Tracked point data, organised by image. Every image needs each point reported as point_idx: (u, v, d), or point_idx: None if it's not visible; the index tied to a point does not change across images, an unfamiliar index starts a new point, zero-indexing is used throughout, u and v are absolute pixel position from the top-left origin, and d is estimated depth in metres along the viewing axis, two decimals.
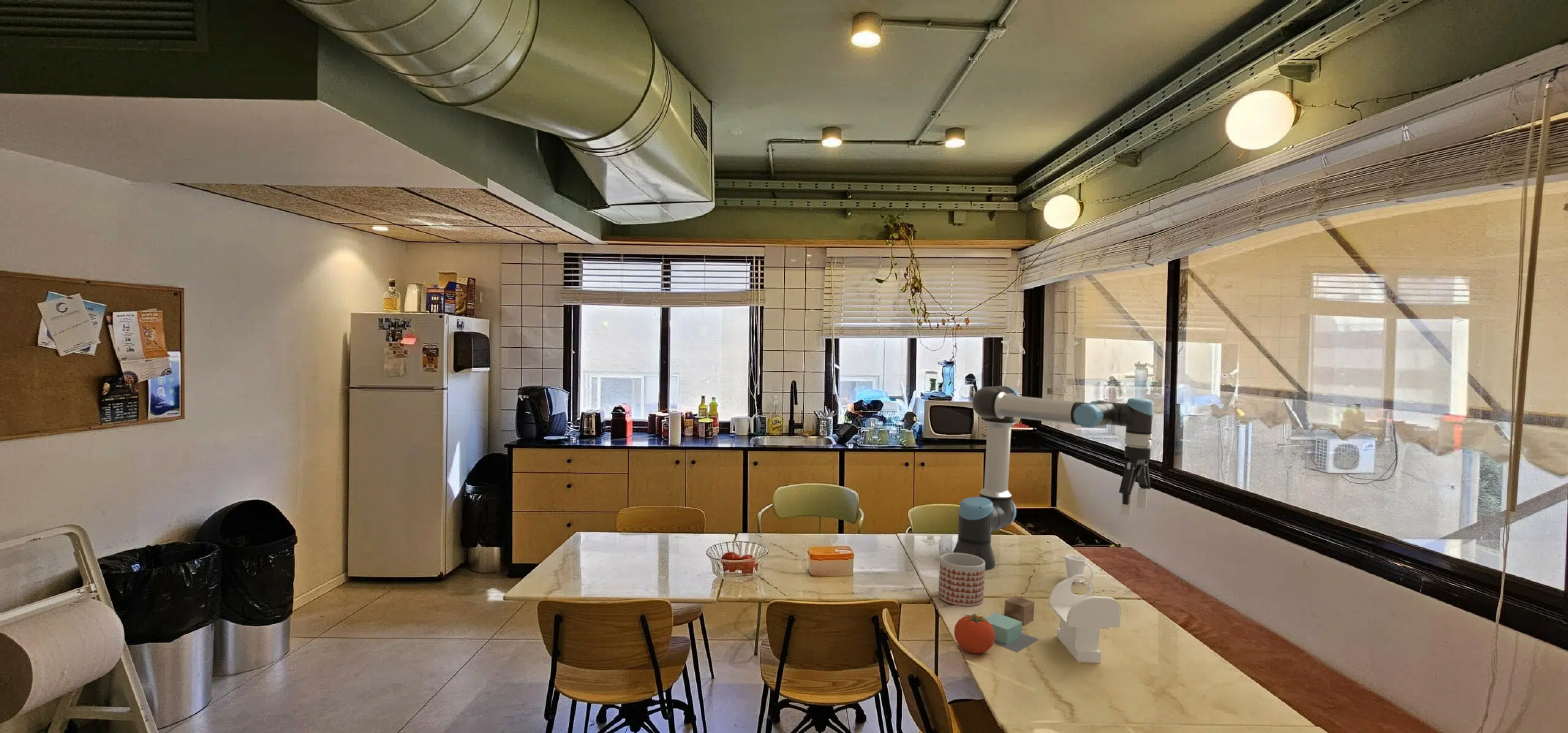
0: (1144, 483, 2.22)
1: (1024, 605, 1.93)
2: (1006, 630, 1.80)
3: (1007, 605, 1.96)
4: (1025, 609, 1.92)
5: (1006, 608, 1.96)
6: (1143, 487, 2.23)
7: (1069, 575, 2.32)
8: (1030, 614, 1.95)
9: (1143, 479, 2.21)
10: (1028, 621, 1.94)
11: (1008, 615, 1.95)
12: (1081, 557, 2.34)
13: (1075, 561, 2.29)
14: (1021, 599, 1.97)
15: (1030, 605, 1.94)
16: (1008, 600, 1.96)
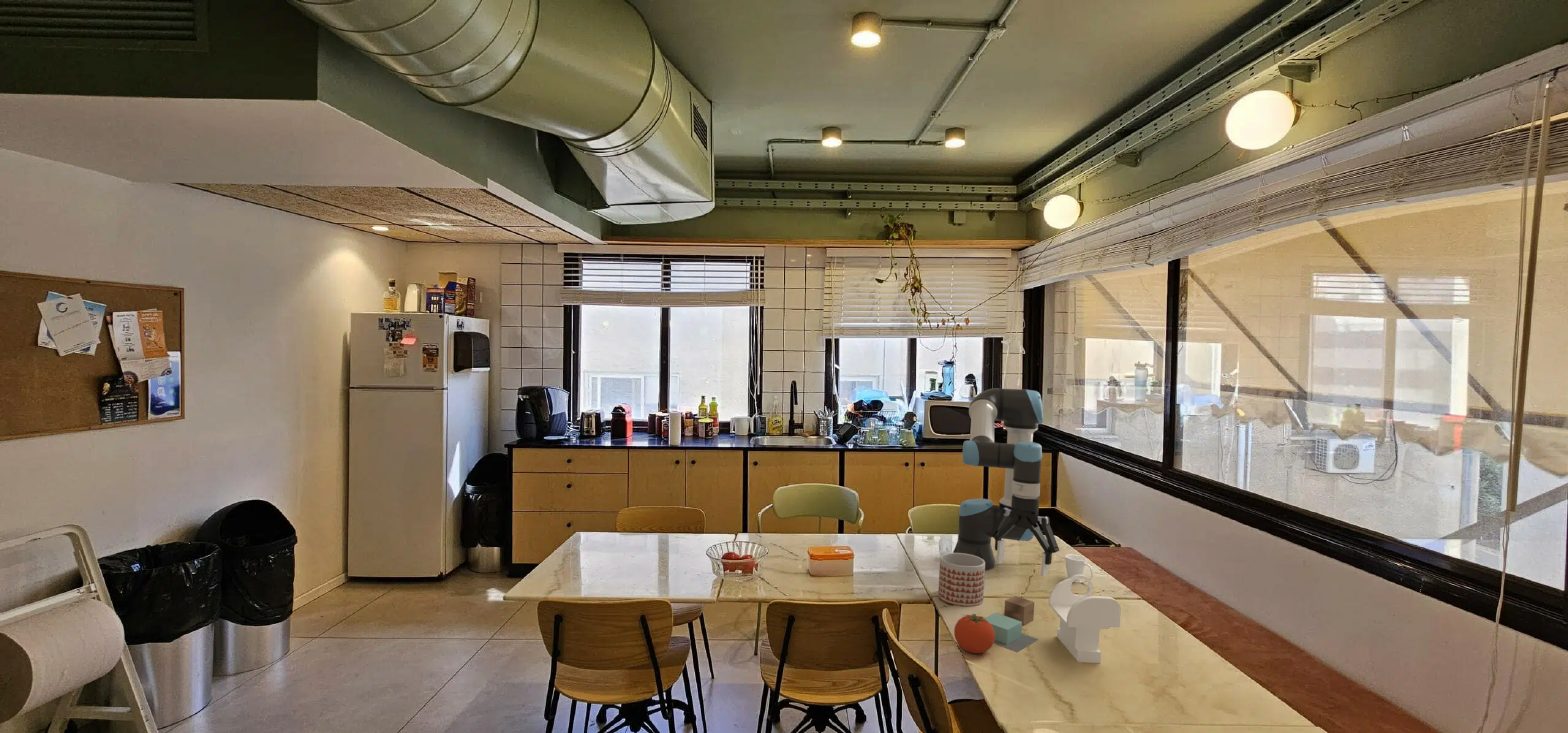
0: None
1: (1024, 605, 1.93)
2: (1006, 630, 1.80)
3: (1007, 605, 1.96)
4: (1025, 609, 1.92)
5: (1006, 608, 1.96)
6: None
7: (1069, 575, 2.32)
8: (1030, 614, 1.95)
9: None
10: (1028, 621, 1.94)
11: (1008, 615, 1.95)
12: (1081, 557, 2.34)
13: (1075, 561, 2.29)
14: (1021, 599, 1.97)
15: (1030, 605, 1.94)
16: (1008, 600, 1.96)
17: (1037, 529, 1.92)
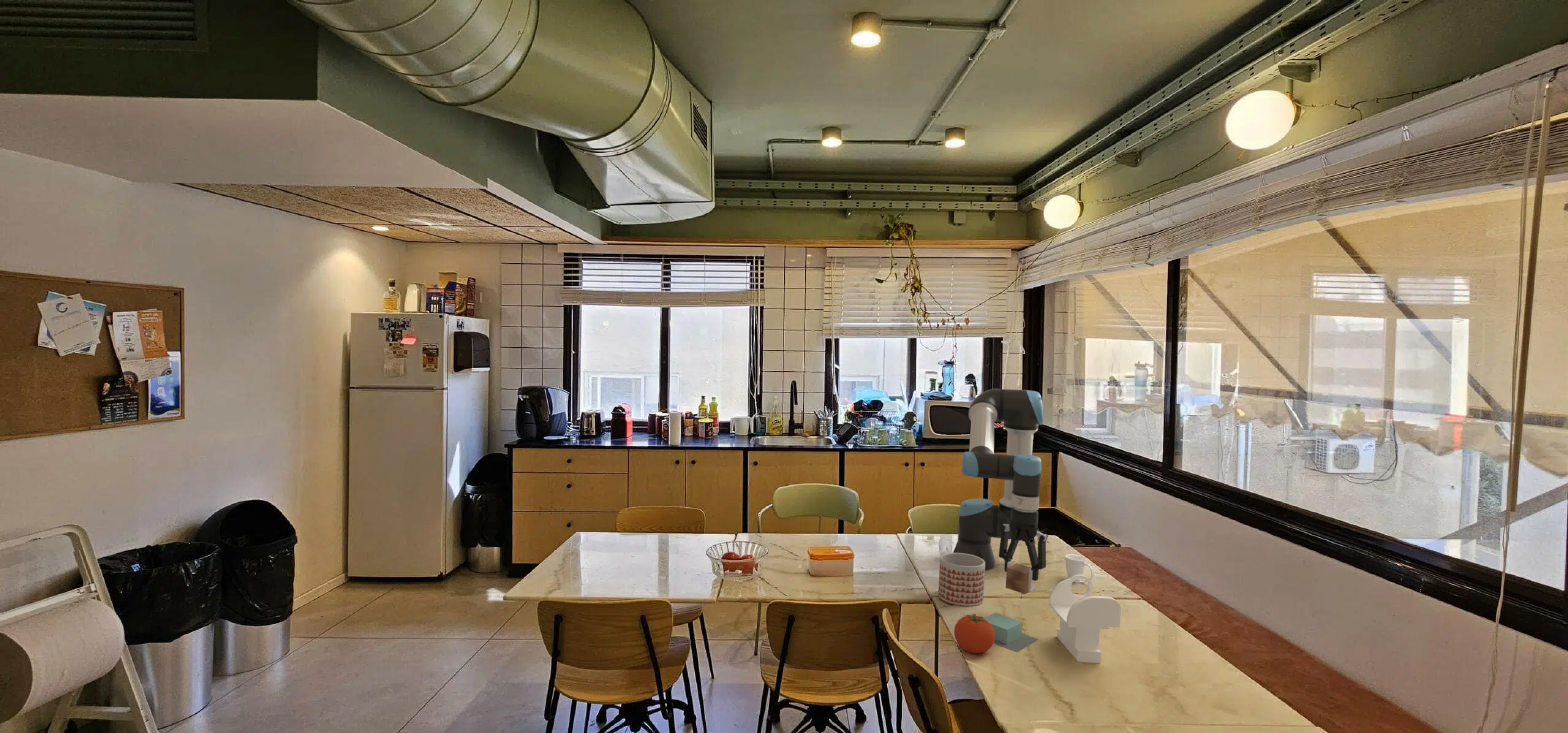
0: None
1: (1026, 572, 1.93)
2: (1006, 630, 1.80)
3: (1008, 572, 1.96)
4: (1027, 576, 1.92)
5: (1008, 575, 1.96)
6: None
7: (1069, 575, 2.32)
8: None
9: None
10: None
11: (1010, 582, 1.95)
12: (1081, 557, 2.34)
13: (1075, 561, 2.29)
14: (1023, 566, 1.97)
15: None
16: (1010, 567, 1.96)
17: (1032, 544, 1.93)
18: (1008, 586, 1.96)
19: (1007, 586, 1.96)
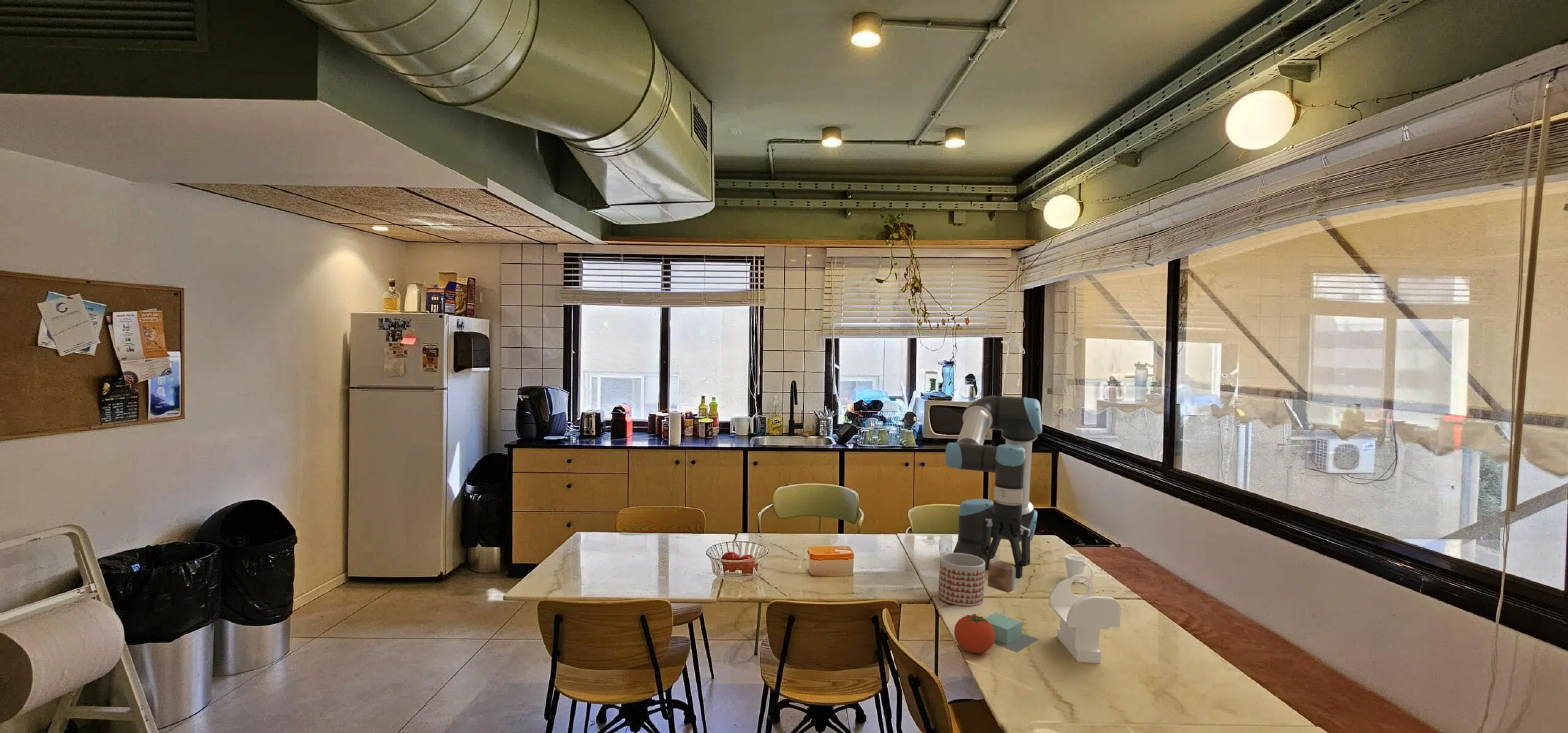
0: None
1: (1009, 569, 1.81)
2: (1006, 630, 1.80)
3: (991, 569, 1.84)
4: (1010, 573, 1.81)
5: (990, 573, 1.84)
6: None
7: (1069, 575, 2.32)
8: None
9: None
10: None
11: (992, 580, 1.84)
12: (1081, 557, 2.34)
13: (1075, 561, 2.29)
14: (1006, 563, 1.86)
15: None
16: (992, 564, 1.85)
17: (1015, 539, 1.82)
18: (990, 584, 1.84)
19: (989, 584, 1.84)
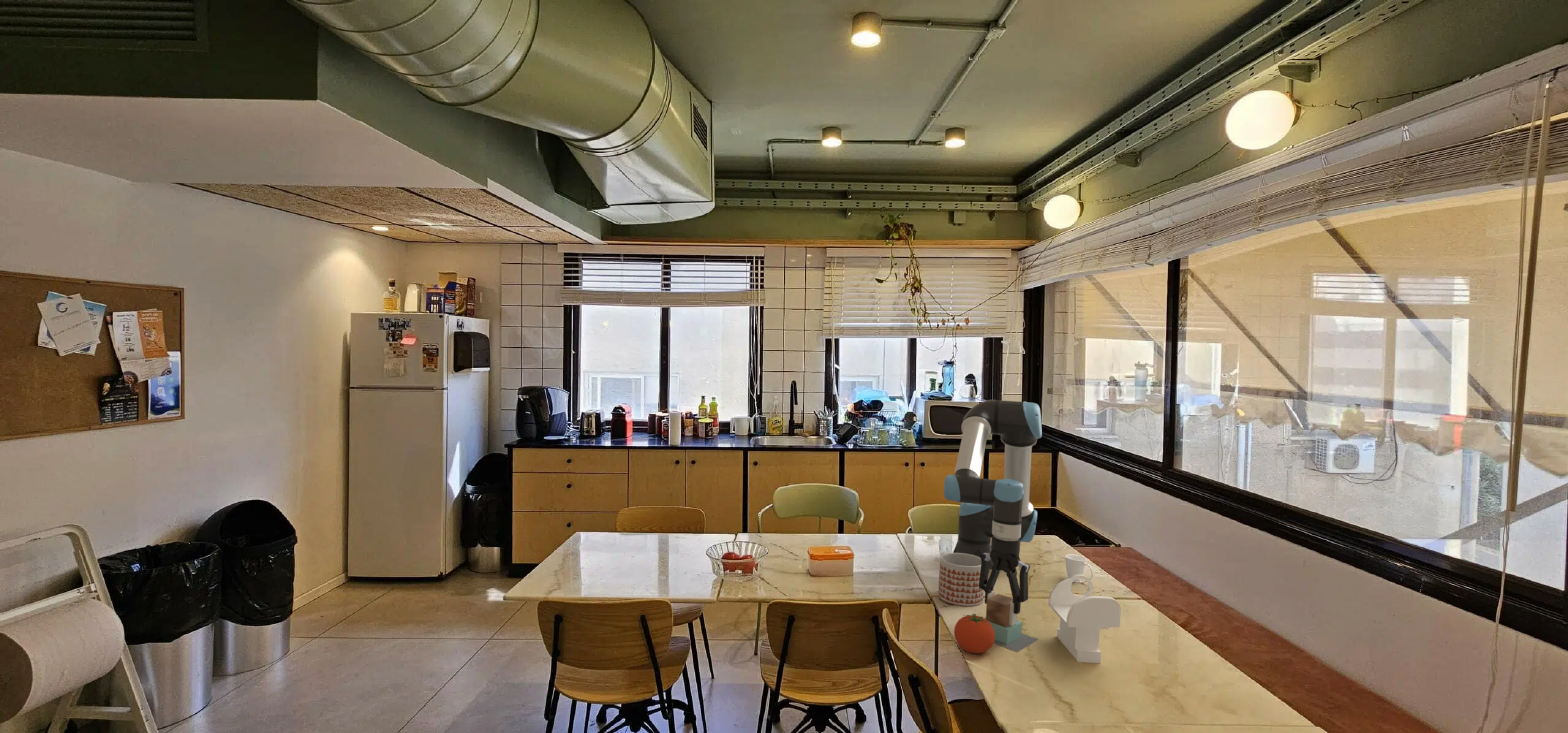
0: None
1: (1007, 604, 1.82)
2: (1006, 630, 1.80)
3: (989, 604, 1.84)
4: (1008, 608, 1.81)
5: (988, 607, 1.85)
6: None
7: (1069, 575, 2.32)
8: None
9: None
10: None
11: (990, 614, 1.84)
12: (1081, 557, 2.34)
13: (1075, 561, 2.29)
14: (1004, 597, 1.86)
15: None
16: (990, 598, 1.85)
17: (1013, 574, 1.82)
18: (988, 619, 1.84)
19: (987, 619, 1.85)
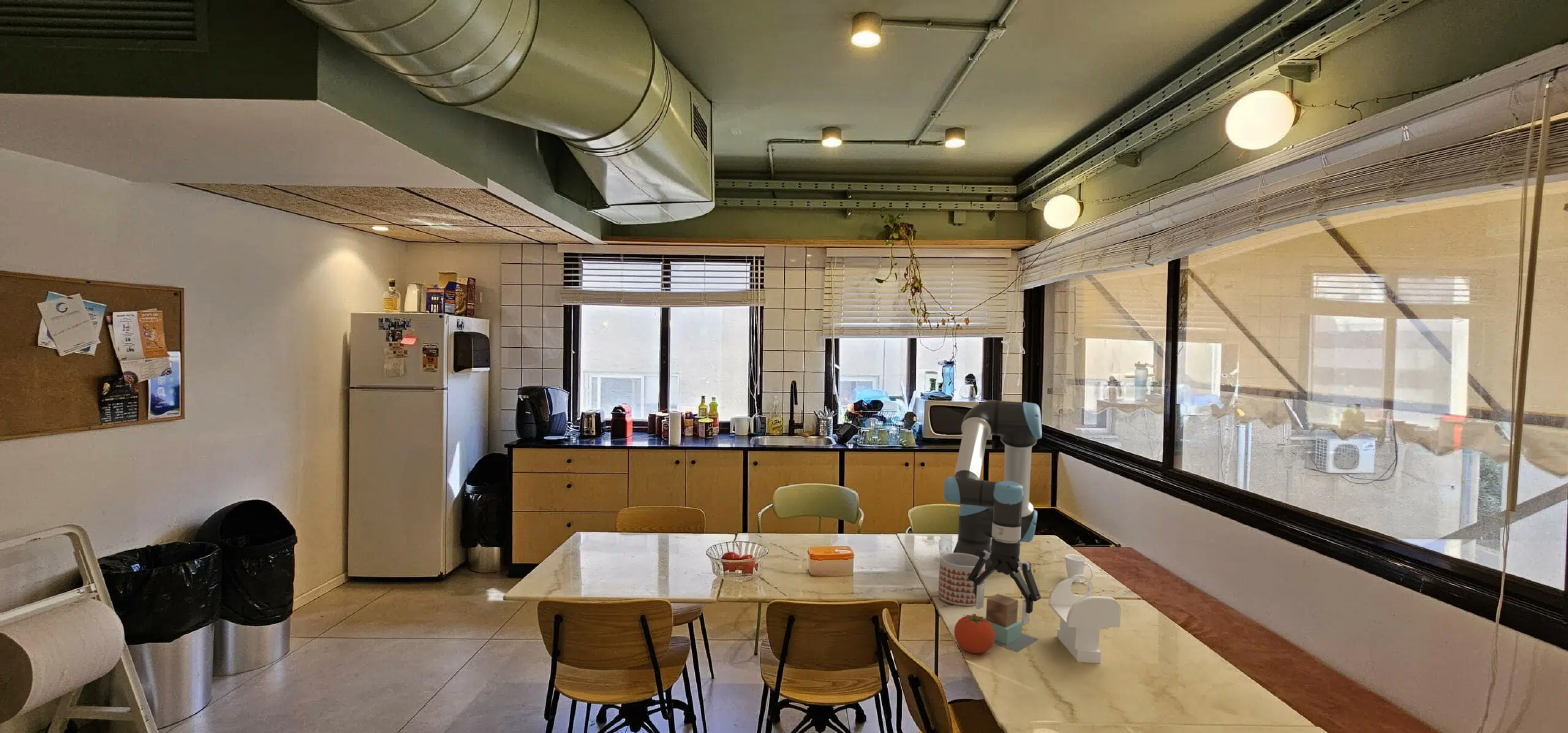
0: None
1: (1007, 604, 1.82)
2: (1006, 630, 1.80)
3: (989, 604, 1.84)
4: (1008, 608, 1.81)
5: (988, 607, 1.85)
6: None
7: (1069, 575, 2.32)
8: (1013, 614, 1.83)
9: None
10: (1011, 621, 1.83)
11: (990, 614, 1.84)
12: (1081, 557, 2.34)
13: (1075, 561, 2.29)
14: (1004, 597, 1.86)
15: (1013, 604, 1.83)
16: (990, 598, 1.85)
17: (1017, 574, 1.82)
18: (988, 619, 1.84)
19: (987, 619, 1.85)
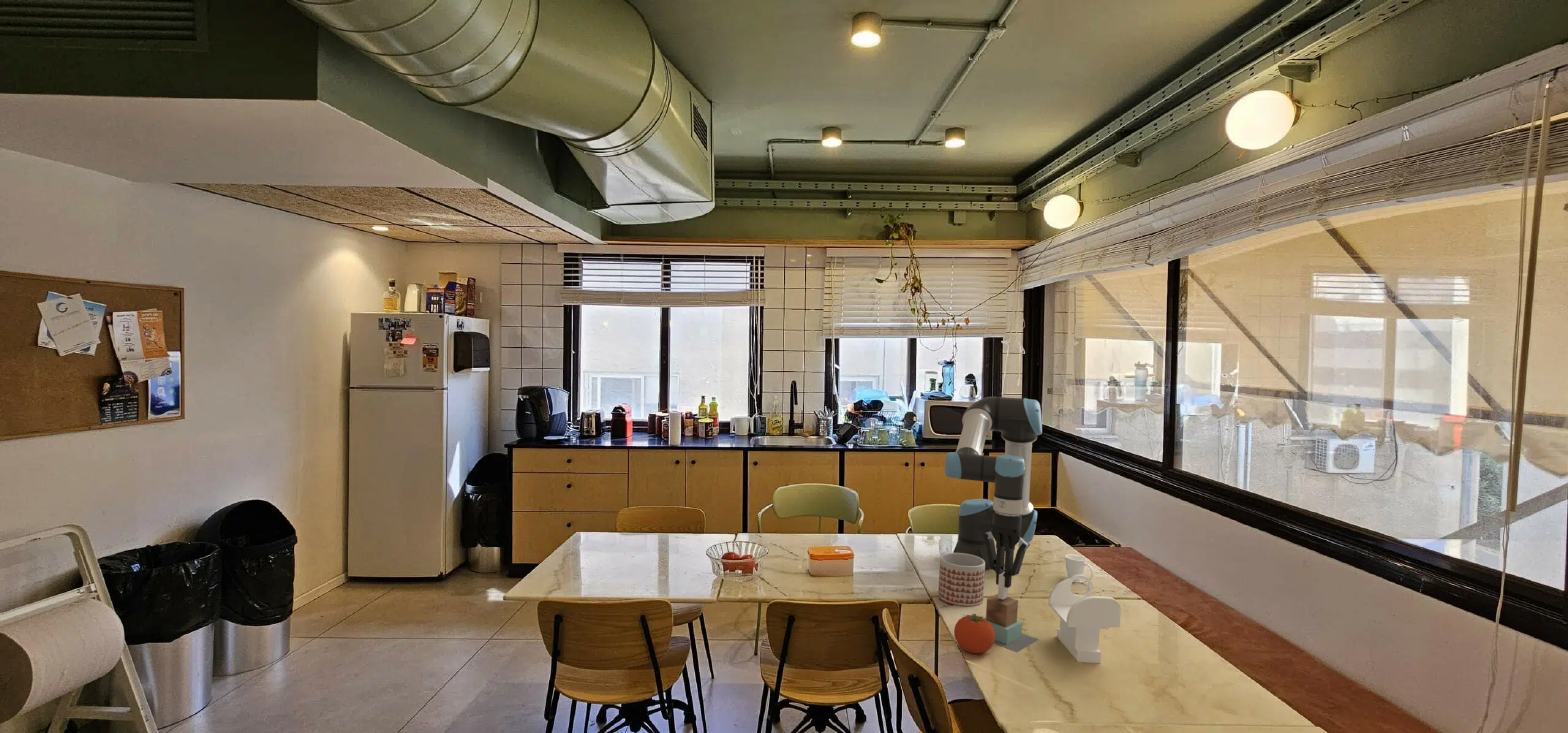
0: None
1: (1007, 604, 1.82)
2: (1006, 630, 1.80)
3: (989, 604, 1.84)
4: (1008, 608, 1.81)
5: (988, 607, 1.85)
6: None
7: (1069, 575, 2.32)
8: (1013, 614, 1.83)
9: None
10: (1011, 621, 1.83)
11: (990, 614, 1.84)
12: (1081, 557, 2.34)
13: (1075, 561, 2.29)
14: None
15: (1013, 604, 1.83)
16: (990, 598, 1.85)
17: (1011, 550, 1.83)
18: (988, 619, 1.84)
19: (987, 619, 1.85)
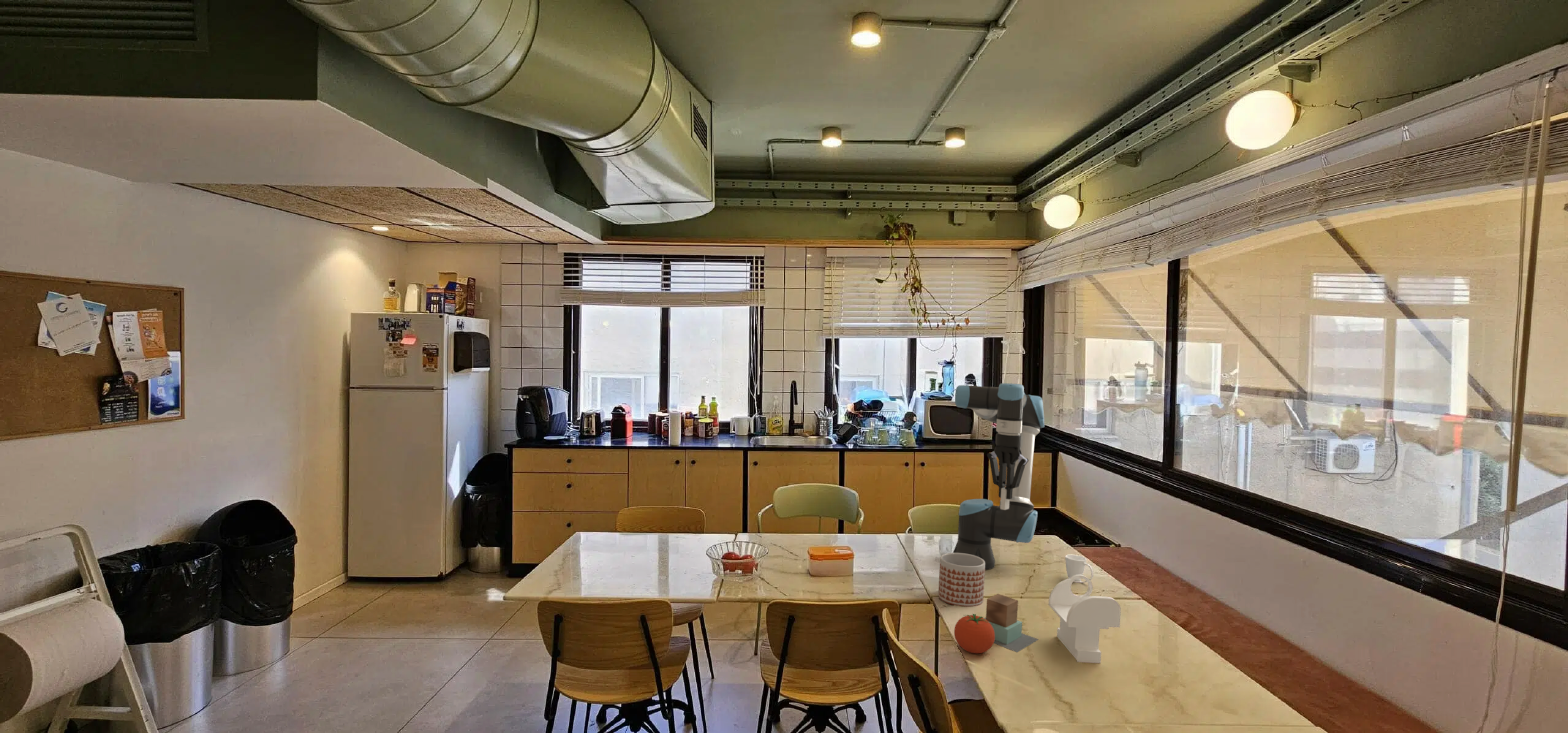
0: None
1: (1007, 604, 1.82)
2: (1006, 630, 1.80)
3: (989, 604, 1.84)
4: (1008, 608, 1.81)
5: (988, 607, 1.85)
6: None
7: (1069, 575, 2.32)
8: (1013, 614, 1.83)
9: None
10: (1011, 621, 1.83)
11: (990, 614, 1.84)
12: (1081, 557, 2.34)
13: (1075, 561, 2.29)
14: (1004, 597, 1.86)
15: (1013, 604, 1.83)
16: (990, 598, 1.85)
17: (1012, 466, 2.07)
18: (988, 619, 1.84)
19: (987, 619, 1.85)
